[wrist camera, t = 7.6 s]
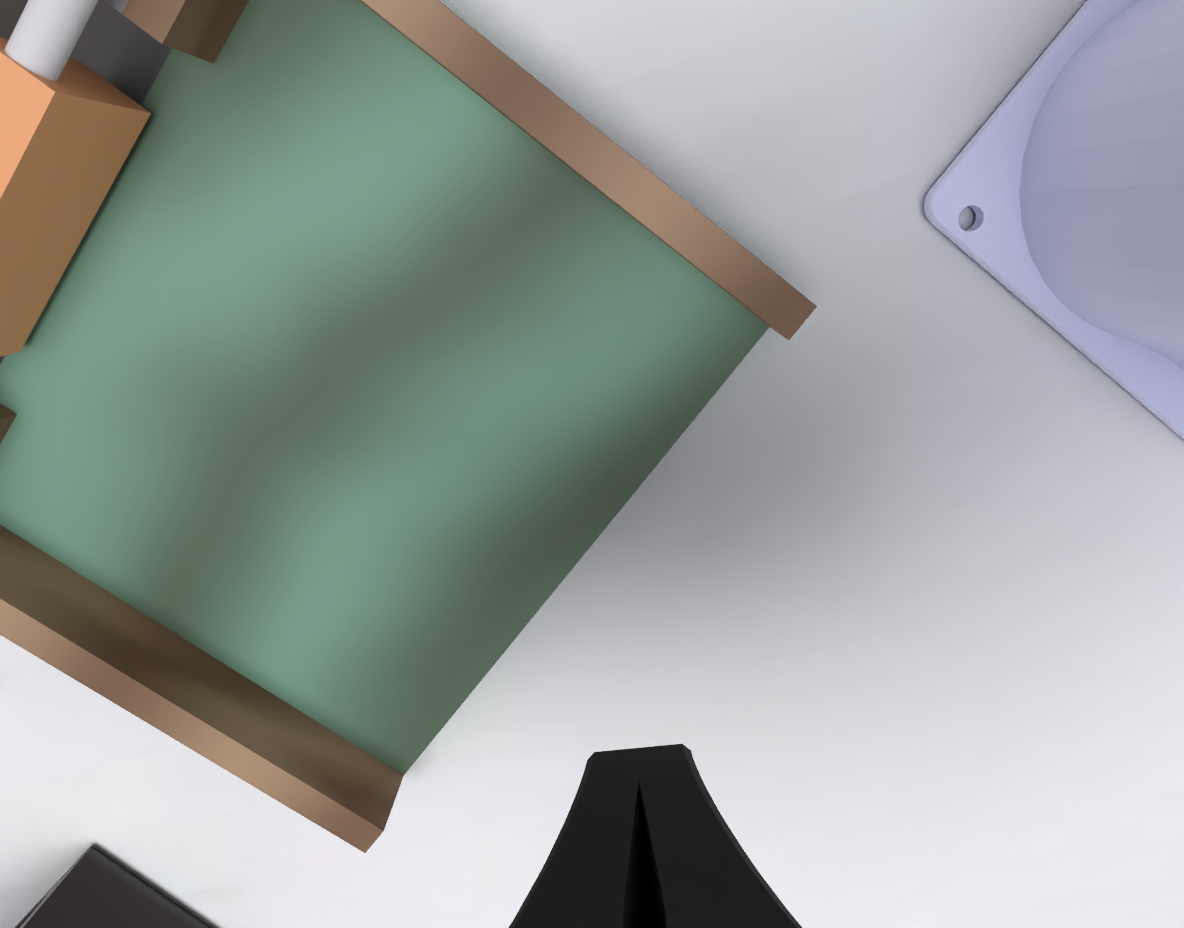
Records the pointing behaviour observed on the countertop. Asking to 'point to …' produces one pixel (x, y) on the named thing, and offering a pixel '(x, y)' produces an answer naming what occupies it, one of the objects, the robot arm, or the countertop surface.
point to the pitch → (343, 382)
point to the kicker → (52, 156)
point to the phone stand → (104, 900)
